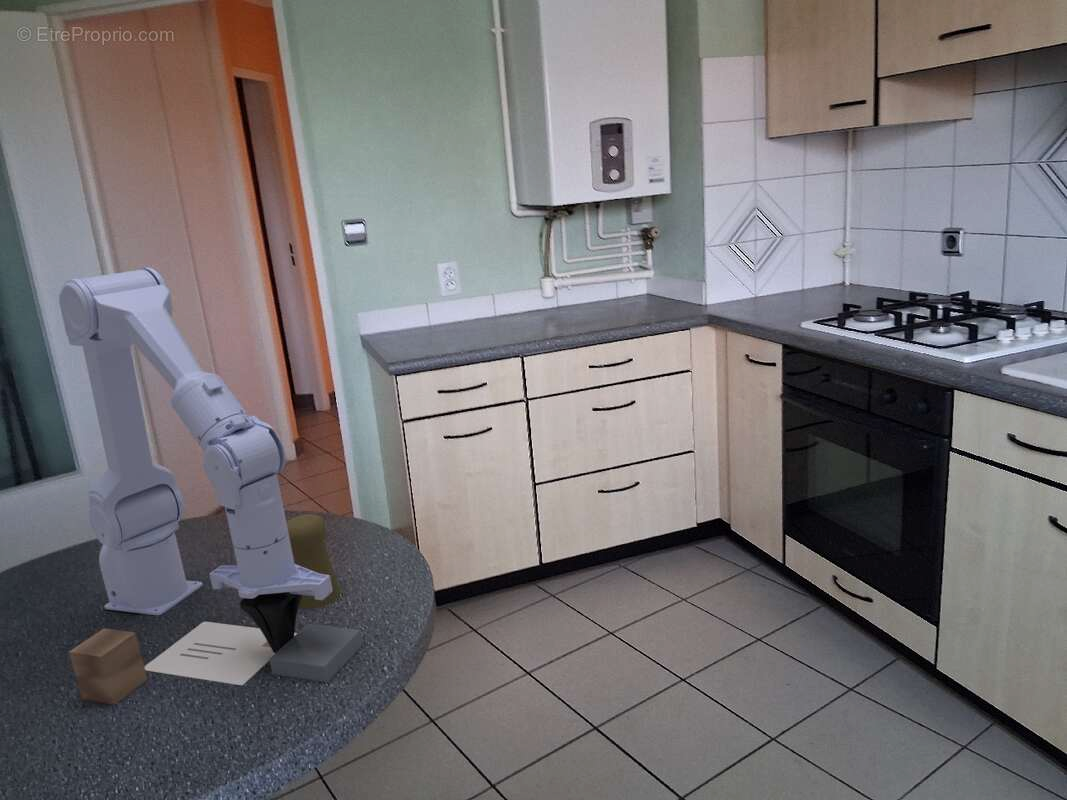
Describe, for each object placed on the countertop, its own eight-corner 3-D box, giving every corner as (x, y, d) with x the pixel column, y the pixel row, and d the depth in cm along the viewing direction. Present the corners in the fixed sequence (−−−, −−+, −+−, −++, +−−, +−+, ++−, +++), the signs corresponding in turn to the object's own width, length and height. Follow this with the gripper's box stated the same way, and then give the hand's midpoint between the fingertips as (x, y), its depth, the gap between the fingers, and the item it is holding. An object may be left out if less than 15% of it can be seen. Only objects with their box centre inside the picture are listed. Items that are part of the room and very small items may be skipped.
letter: (141, 670, 89) (140, 669, 89) (204, 622, 98) (203, 621, 98) (242, 686, 84) (242, 685, 84) (299, 634, 93) (298, 633, 93)
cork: (328, 610, 98) (313, 529, 95) (283, 610, 99) (267, 529, 96) (348, 586, 103) (334, 508, 101) (306, 585, 105) (291, 508, 102)
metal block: (273, 679, 86) (269, 659, 85) (311, 642, 92) (307, 623, 91) (328, 687, 83) (324, 666, 83) (363, 649, 90) (360, 629, 89)
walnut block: (83, 701, 85) (68, 651, 83) (117, 675, 89) (104, 628, 87) (114, 706, 83) (100, 656, 81) (148, 680, 87) (135, 632, 85)
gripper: (180, 549, 84) (207, 661, 88) (294, 559, 79) (317, 677, 83) (225, 521, 90) (248, 626, 94) (334, 529, 85) (354, 639, 89)
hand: (283, 648), depth 89 cm, fingers closed
